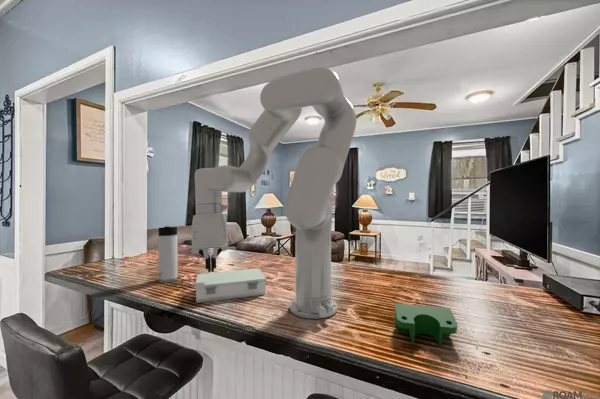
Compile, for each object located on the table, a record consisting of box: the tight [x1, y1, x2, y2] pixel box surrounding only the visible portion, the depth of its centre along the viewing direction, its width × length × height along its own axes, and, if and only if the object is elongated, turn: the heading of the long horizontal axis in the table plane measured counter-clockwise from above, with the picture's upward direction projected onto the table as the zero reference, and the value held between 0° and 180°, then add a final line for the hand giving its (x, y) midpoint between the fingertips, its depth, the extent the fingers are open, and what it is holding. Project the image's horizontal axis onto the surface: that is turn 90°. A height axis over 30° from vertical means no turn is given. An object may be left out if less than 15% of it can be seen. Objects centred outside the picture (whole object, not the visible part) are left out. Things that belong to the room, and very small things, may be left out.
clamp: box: [394, 303, 458, 347], centre depth 54 cm, size 12×6×9 cm, turn 69°
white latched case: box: [195, 281, 267, 304], centre depth 82 cm, size 13×20×4 cm, turn 109°
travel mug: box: [157, 225, 179, 284], centre depth 95 cm, size 6×7×20 cm
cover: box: [194, 268, 267, 290], centre depth 82 cm, size 14×20×1 cm
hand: (211, 270), depth 77 cm, fingers closed
